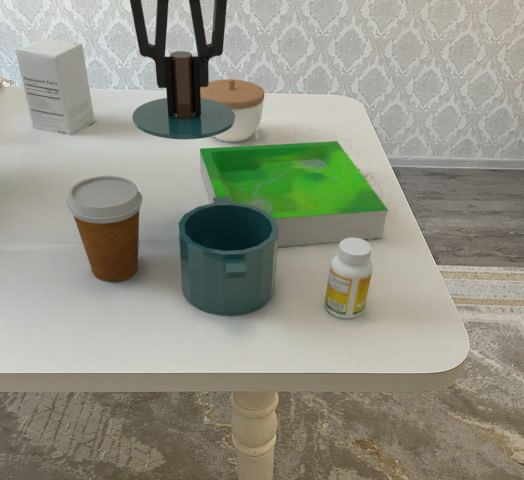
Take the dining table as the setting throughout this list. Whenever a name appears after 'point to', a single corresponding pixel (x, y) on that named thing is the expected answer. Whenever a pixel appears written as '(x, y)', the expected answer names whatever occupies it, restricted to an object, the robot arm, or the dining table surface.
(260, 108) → the lidded bowl
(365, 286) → the supplement bottle
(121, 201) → the disposable coffee cup
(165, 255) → the dining table surface
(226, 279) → the pot
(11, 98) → the dining table surface
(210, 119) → the lid
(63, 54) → the rectangular carton
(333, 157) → the tray
